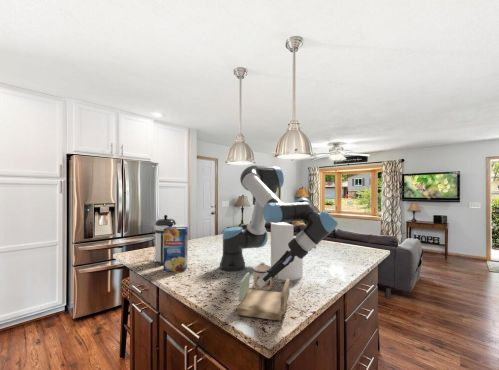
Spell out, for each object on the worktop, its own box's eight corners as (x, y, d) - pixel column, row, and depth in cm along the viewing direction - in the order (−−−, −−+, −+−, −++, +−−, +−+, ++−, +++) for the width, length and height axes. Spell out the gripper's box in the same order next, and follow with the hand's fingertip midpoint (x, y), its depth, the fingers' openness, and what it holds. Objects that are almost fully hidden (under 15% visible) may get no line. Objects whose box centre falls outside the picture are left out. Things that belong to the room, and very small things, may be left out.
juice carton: (163, 271, 140) (163, 228, 141) (167, 267, 148) (167, 226, 148) (184, 271, 141) (185, 228, 141) (187, 267, 148) (187, 226, 149)
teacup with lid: (253, 291, 113) (253, 265, 114) (252, 283, 122) (252, 260, 123) (279, 291, 114) (279, 265, 114) (276, 283, 123) (276, 259, 123)
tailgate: (248, 290, 105) (250, 272, 105) (241, 301, 94) (242, 281, 94) (245, 289, 105) (246, 271, 105) (237, 301, 95) (238, 281, 95)
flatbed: (289, 300, 104) (289, 278, 104) (284, 322, 86) (284, 296, 87) (249, 296, 108) (249, 275, 108) (236, 316, 91) (236, 291, 91)
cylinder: (277, 281, 126) (277, 225, 126) (266, 270, 142) (266, 221, 143) (308, 278, 130) (308, 224, 131) (294, 268, 147) (294, 220, 148)
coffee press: (181, 258, 166) (182, 213, 167) (171, 266, 150) (172, 216, 151) (156, 258, 168) (157, 213, 168) (144, 265, 152) (144, 215, 153)
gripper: (308, 256, 87) (261, 299, 91) (309, 248, 100) (268, 286, 104) (293, 240, 89) (247, 283, 93) (296, 234, 101) (256, 272, 105)
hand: (258, 284), depth 98 cm, fingers closed
